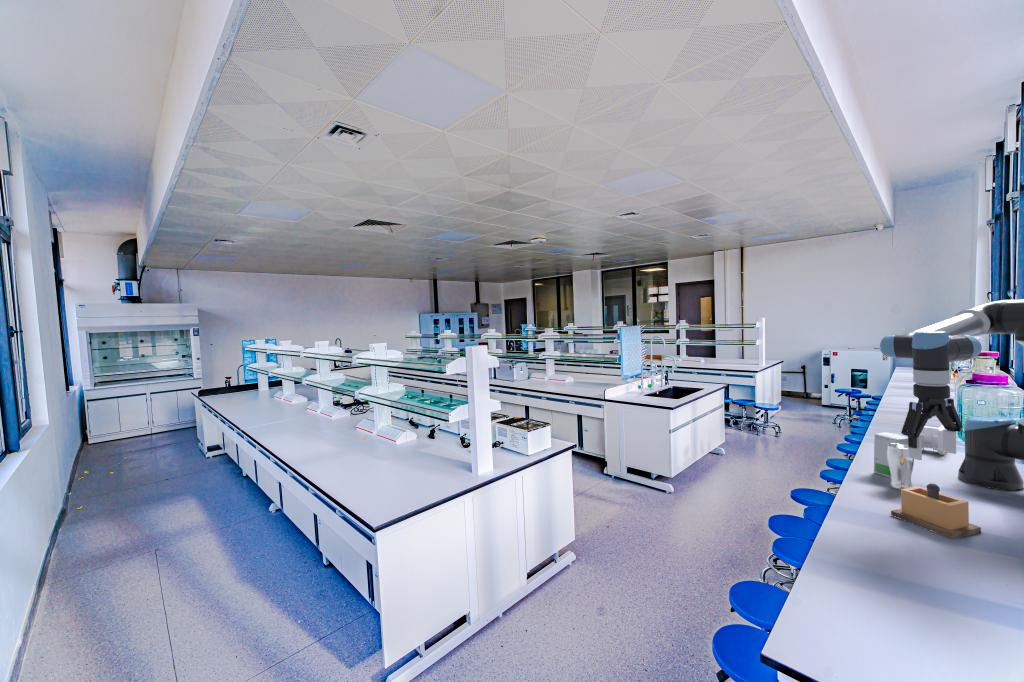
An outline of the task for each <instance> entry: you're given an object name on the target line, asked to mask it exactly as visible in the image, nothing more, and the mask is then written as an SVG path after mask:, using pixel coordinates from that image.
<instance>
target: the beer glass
mask: <svg viewBox="0 0 1024 682" xmlns="http://www.w3.org/2000/svg"><path fill="white" fill-rule="evenodd" d="M887 460H888V465H889V469H890V473H891V478H890V482H889V487H890V488H892V489H895V490H898V491H901V489H906V488H911V487H913V484H912V476H913V471H914V465H915V459H913V458H909V446H908V445H905V444H897V443H891V444H888V448H887Z"/></svg>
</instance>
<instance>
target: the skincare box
mask: <svg viewBox="0 0 1024 682" xmlns="http://www.w3.org/2000/svg"><path fill="white" fill-rule="evenodd" d="M873 442H874V445H873V446H874V452H873V453H874V454H873V455H874V456H873V473H875V474H878V475H882V476H884V477H887V478H890V479H891V473H890V469H889V465H888V460H887V448H888V444H891V443H897V444H905V445H908V436H905V435H900V434H897V433H896V434H895V433H891V432H888V431H884V432H879V433H878V432H877V433H874V441H873Z"/></svg>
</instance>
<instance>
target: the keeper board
mask: <svg viewBox="0 0 1024 682" xmlns="http://www.w3.org/2000/svg"><path fill="white" fill-rule="evenodd" d="M925 488H926V489H927V495H928V497H931V498H934V499H937V500H939V493H940V491H941V489H940V486H939V485H938V484H936V483H928V484H927V485H926V487H925ZM890 515H893V516H892V517H894V516H896V517H899V518H901V519H903V520H902V521H904V520H906V521H905V522H907V521H908V522H907V523H909V522H911V523H910V524H912V523H913V525H914V524H915V525H914V526H917V525H918V526H917V527H919V526H921V527H920V528H922V527H923V528H922V529H924V528H926V529H925V530H927V529H928V530H927V531H930V530H932V531H934V532H933V533H935V532H936V533H935V534H937V533H938V534H937V535H940V534H941V535H940V536H942V535H943V537H945V536H946V537H945V538H947V537H948V539H950V540H956V539H960V538H964V537H968V536H973V535H977V534H980V533H982V527H981V526H978V525H975V524H972V523H970V522H969V526H967V527H962V528H958V529H954V530H949V529H946V528H944V527H941V526H938V525H936V524H933V523H930V522H928V521H925V520H922V519H920V518H917V517H914V516H912V515H909V514H906V513H904V512H902V510H901V508H898V509H894V510H893V509H892V510H890ZM896 517H895V518H896ZM899 518H898V519H899ZM901 519H900V520H901ZM932 531H931V532H932ZM955 538H956V539H955Z"/></svg>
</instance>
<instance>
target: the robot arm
mask: <svg viewBox="0 0 1024 682" xmlns="http://www.w3.org/2000/svg"><path fill="white" fill-rule="evenodd" d="M994 334H995V335H1014V341H1015V342H1016V343H1017V344H1020V345H1021V346H1022V365H1023V366H1022V367H1023V369H1022V370H1023V372H1024V298H1017V299H1016V298H1015V299H1013V298H1012V299H1000V300H995V301H988V302H986V303H982V304H978V305H975V306H972V307H969V308H965V309H962V310H960V311H959V312H957V313H955V315H954V316H952V317H950V318H947V319H944V320H941V321H939V322H936V323H933V324H930V325H927V326H924V327H921V328H919V329H916V330H913V331H911V332H908V333H905V334H891V335H885V336H884V337H883V338H881V341H880V343H879V348H880V353H882V354H883V356H885V357H888V358H895V359H912V370H913V372H912V374H913V376H912V380H913V383H914V384H913V387H912V388H913V390H912V391H913V392H912V393H913V396H914V397H915V398H917V399H918V401H917V402H915V401H910V402H909V403H908V405H909V406H908V411H907V414H906V417H905V420H904V422H903V423H904V424H903V426H902V429H901V434H902V436H905V437H908V446H909V458H913V459H914V460H917V461H923V459H922V458H923V456H922V455H923V454H922V453H923V452H922V451H923V448H922V446H921V437H919V435H920V433H921V432H922V430H923V428H924V426H926V424H927V423H928V421H929V420H930V419H932V418H933V417H936V418H937V420H938V421H939V422H940V424H941V425H943V426H944V428H945V429H947V430H943V451H944V452H945V453H949V454H954V455H956V454H957V432H958V433H960V432H962V428H964V429H963V432H964V458H963V460H962V463H961V465H960V466H959V469H958V471H957V472H958V473H957V475H958V478H959V480H962V481H964V482H965V481H966V483H968V484H972V485H974V484H975V485H976V486H978V485H979V487H983V486H984V488H988V487H990V488H989V489H994V488H997V489H996V490H1002V489H1006V490H1005V491H1016V490H1015V489H1019V490H1022V489H1023V488H1024V480H1023V478H1022V475H1021V473H1020V471H1019V469H1018V467H1017V465H1016V460H1020V461H1023V462H1024V417H1023V418H1022V419H1019V420H1018V422H1017V424H1016V420H1015V419H1014V418H1011V417H1005V416H1003V417H1001V416H977V417H976V416H975V417H969V418H967V419H966V420H965V421H964V427H963V423H962V421H961V419H960V417H959V415H958V414H959V413H958V412H957V409H956V406H955V400H954V398H951V386H949V384H951V375H950V373H951V372H950V371H951V370H950V362H961V361H962V362H965V361H969V360H971V359H972V360H973V359H974V358H977V357H978V356H979V355H980V353H981V352H982V347H983V345H982V343H981V341H980V340H979V339H977V338H976V337H980V336H983V335H994ZM975 485H974V486H975Z"/></svg>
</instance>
